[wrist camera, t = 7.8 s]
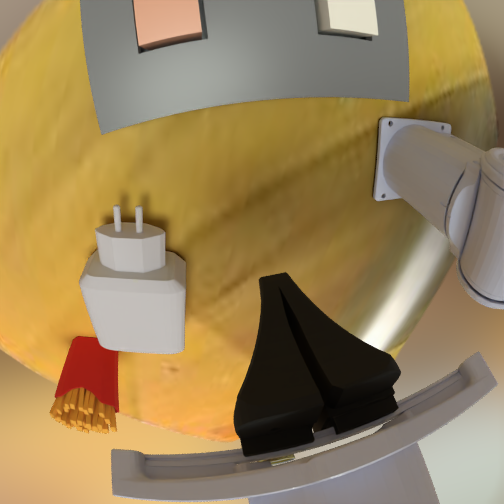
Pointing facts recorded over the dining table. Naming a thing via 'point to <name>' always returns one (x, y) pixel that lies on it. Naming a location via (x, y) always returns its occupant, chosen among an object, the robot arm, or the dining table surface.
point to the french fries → (88, 387)
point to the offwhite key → (346, 18)
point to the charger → (135, 288)
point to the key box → (237, 59)
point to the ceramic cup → (280, 459)
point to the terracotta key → (167, 22)
